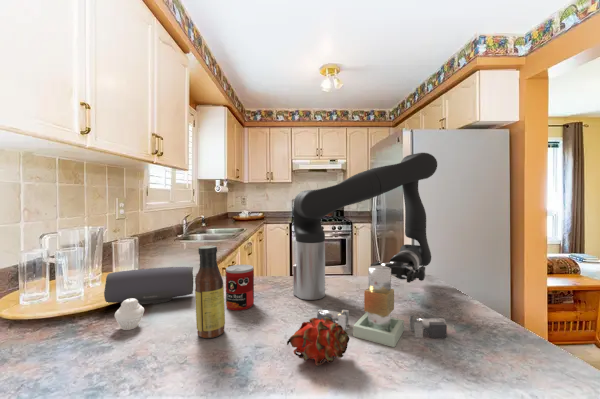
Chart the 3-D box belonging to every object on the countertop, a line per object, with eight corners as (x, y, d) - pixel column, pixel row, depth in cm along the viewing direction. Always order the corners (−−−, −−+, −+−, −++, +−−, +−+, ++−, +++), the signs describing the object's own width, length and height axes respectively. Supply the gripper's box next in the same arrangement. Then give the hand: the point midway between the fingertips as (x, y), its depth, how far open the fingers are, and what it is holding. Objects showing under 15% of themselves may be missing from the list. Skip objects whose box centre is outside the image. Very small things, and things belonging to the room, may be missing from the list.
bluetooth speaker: (193, 292, 95) (193, 262, 95) (192, 302, 86) (192, 268, 86) (113, 300, 88) (113, 267, 88) (103, 312, 79) (103, 275, 79)
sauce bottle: (230, 329, 68) (229, 245, 68) (214, 341, 62) (213, 249, 62) (207, 325, 70) (206, 243, 70) (189, 337, 64) (188, 248, 64)
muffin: (140, 319, 74) (139, 292, 74) (148, 327, 69) (147, 298, 69) (111, 327, 69) (111, 298, 69) (118, 336, 65) (118, 305, 65)
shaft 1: (349, 324, 71) (349, 310, 71) (344, 331, 67) (344, 317, 67) (321, 319, 73) (321, 306, 73) (315, 326, 69) (315, 312, 69)
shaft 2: (415, 338, 63) (415, 322, 63) (408, 329, 68) (408, 314, 68) (448, 338, 63) (448, 323, 63) (439, 329, 68) (439, 314, 68)
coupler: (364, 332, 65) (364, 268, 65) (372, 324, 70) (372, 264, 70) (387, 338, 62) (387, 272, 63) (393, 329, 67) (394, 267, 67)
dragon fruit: (355, 371, 54) (292, 378, 55) (347, 328, 61) (291, 335, 62) (353, 349, 49) (283, 357, 50) (344, 305, 56) (283, 313, 57)
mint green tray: (353, 336, 64) (353, 325, 64) (366, 321, 72) (366, 311, 72) (394, 347, 60) (394, 335, 60) (404, 330, 67) (404, 319, 67)
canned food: (220, 308, 81) (220, 269, 81) (236, 299, 88) (236, 263, 88) (243, 312, 78) (243, 272, 78) (258, 302, 85) (258, 265, 85)
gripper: (381, 249, 93) (364, 258, 79) (429, 254, 85) (420, 265, 72) (381, 272, 93) (364, 286, 79) (429, 279, 85) (420, 295, 72)
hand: (391, 276), depth 75 cm, fingers open, 8 cm apart
